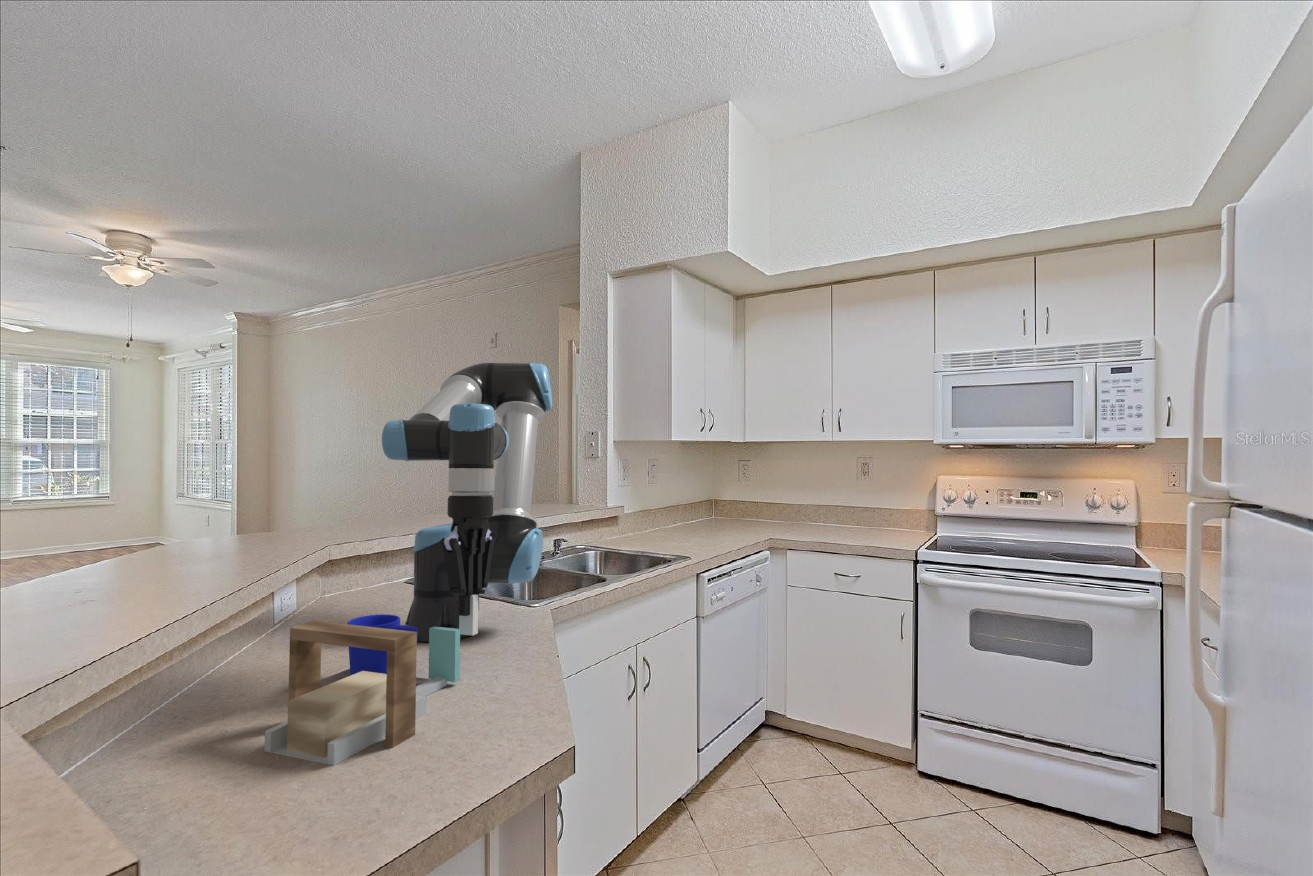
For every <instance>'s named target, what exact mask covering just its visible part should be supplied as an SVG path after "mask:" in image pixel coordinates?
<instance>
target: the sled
mask: <svg viewBox="0 0 1313 876" xmlns="http://www.w3.org/2000/svg"><path fill="white" fill-rule="evenodd" d="M460 657H461V639H460V629H454V628H444V627H435V626H434V627H431V628H429V642H428V680H427V681H424V682H422V683H420V684H418V685H416V718H415V721H417V720H418V719H420V718H422V717H424V716H425V715H427V697H428V696H429V695H431V694H434V693H436V692H437V691H439V690H442V689H443V688H445V687H447V686H448V682H451V683H456V682H458V681H460V671H461V669H460V668H461V667H460V666H461V665H460V664H461V663H460V662H461V661H460V660H461V658H460ZM287 725H288V720H287V721H284V722H282V723H280V724H278V725H276V726H273V727H271V728H269V729H266V730H264V750H263V751H264V752H265V753H272V754H277V755H280V756H281V755H282V756H284V757H285V756H286V757H290V758H295V759H300V760H306V761H311V762H314V763H319V764H320V763H321V764H325V765H329V766H336V765H338V764H339V763H341V762H342V761H345V760H347V759H348V758H350V757H352V756H354V755H356V754H357V753H360V752H361V751H363V750H364V749H366V748H368V747H370V746H372V745H373V744H375V743H377V742H380V741H381V740H383V739H384V738H385V735H386V714H384V715H382V716H380V717H378V718H376V719H374V720H372V721H370V722H368V723H366V724H364V725H362V726H360V727H358V728H356V729H354V730H352V731H350V732H348V733H346V734H344V735H343V736H341V737H339V738H337V739H335V740H333V741H331V742H329V743H328V756H327V757H326V758H322V757H317V756H312V755H307V754H302V753H297V752H292V751H287Z"/></svg>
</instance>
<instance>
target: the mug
mask: <svg viewBox="0 0 1313 876" xmlns="http://www.w3.org/2000/svg"><path fill="white" fill-rule="evenodd" d="M400 623H401V618H400V617H399V616H398V615H395V614H383V613H382V614H370V615H364V616H363V615H362V616H359V617H356V618H352V619H350V620H349V621H347V623H346V624H349V625H358V626H367V627H376V628H385V629H394V630H403V631H412V632H417V637H418V628H417V627H413V626H405V624H404V625H402V624H400ZM348 657H349V659H348V661H349V674H350V675H349V676H351V675H353V674H356V673H358V672H361V671H368V672H375V673H383V674H387V651H381V650H373V649H365V648H357V647H349V646H348Z"/></svg>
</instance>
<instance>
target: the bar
mask: <svg viewBox="0 0 1313 876" xmlns="http://www.w3.org/2000/svg"><path fill="white" fill-rule="evenodd" d="M386 678H387V674H383V673H375V672H368V671H361V672H358V673H356V674H353V675H348V676H346V677H344V678H342V679H339V680H336V681H334V682H331V683H329V684H327V685H323V686H320V688H319V689H316V690H314V691H311V692H309V693H306V694H304V695H301V696H299V697H297V698H294V699H292V700H289V701H288V700H287V721H288V725H287V751H292V752H297V753H302V754H307V755H312V756H317V757H322V758H326V757H327V756H328V743H329V742H331V741H333V740H335V739H337V738H339V737H341V736H343V735H344V734H346V733H348V732H350V731H352V730H354V729H356V728H358V727H360V726H362V725H364V724H366V723H368V722H370V721H372V720H374V719H376V718H378V717H380V716H382V715H384V714H386Z"/></svg>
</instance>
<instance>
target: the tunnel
mask: <svg viewBox="0 0 1313 876" xmlns="http://www.w3.org/2000/svg"><path fill="white" fill-rule="evenodd" d="M322 644H324V645H325V644H327V645H334V646H335V645H336V646H341V647H342V646H343V647H348V648H349V647H357V648H365V649H373V650H381V651H387V678H386V735H385V737H384V738H385V744H384V745H385V747H386V748H390V749H391V748H392V749H393V748H395V747H398V746H399V745H400V744H402V743H404V742H406V741H407V740H409V739H411V738H412V737H414V736H416V720H415V718H416V686H417V647H418V646H417V645H418V641H417V632H412V631H403V630H394V629H385V628H376V627H367V626H358V625H349V624H347V623H341V622H340V623H339V622H338V623H337V622H330V621H329V622H328V621H320V620H313V621H309V622H307V623H303V624H299V625H295V626H292V627H290V628H289V657H288V658H289V663H288V667H289V668H288V697H287V698H288V700H287V702H288V701H289V700H292V699H294V698H297V697H299V696H301V695H304V694H306V693H309V692H311V691H314V690H316V689H319V688H321V675H322V674H321V673H322V672H321V668H322V667H321V666H322V665H321V664H322Z"/></svg>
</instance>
